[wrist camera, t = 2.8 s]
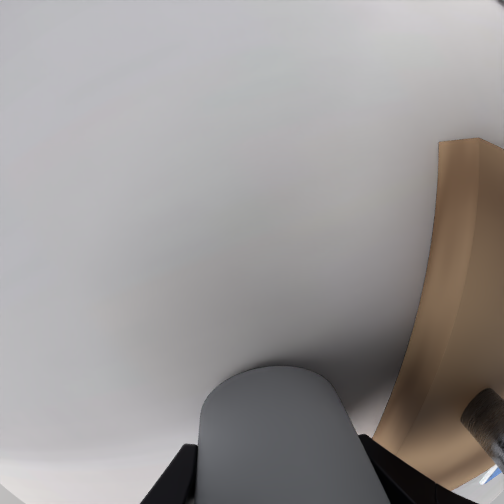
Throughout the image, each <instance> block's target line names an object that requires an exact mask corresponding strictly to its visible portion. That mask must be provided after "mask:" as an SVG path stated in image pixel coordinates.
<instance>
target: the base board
mask: <svg viewBox="0 0 504 504" xmlns="http://www.w3.org/2000/svg"><path fill="white" fill-rule="evenodd" d="M486 388H492V389H493V390H494V391H495V392H496V393H497V394H498V395H499V396H500V397H501V398H503V399H504V149H502V148H500V147H498V146H496V145H494V144H492V143H489V142H487V141H485V140H483V139H481V138H471V139H461V140H452V141H443V142H439V161H438V183H437V197H436V208H435V217H434V226H433V234H432V241H431V247H430V254H429V259H428V265H427V271H426V276H425V281H424V285H423V290H422V295H421V299H420V303H419V307H418V311H417V315H416V319H415V323H414V327H413V330H412V334H411V337H410V341H409V344H408V347H407V351H406V354H405V357H404V360H403V363H402V366H401V369H400V372H399V375H398V377H397V380H396V383H395V386H394V388H393V391H392V394H391V396H390V399H389V401H388V404H387V406H386V409H385V411H384V413H383V416H382V418H381V420H380V423H379V425H378V427H377V429H376V432H375V434H374V436H373V438H372V439H373V440H374V441H376V442H377V443H378V444H380V445H381V446H383V447H384V448H385V449H387V450H388V451H390V452H391V453H392V454H394V455H395V456H397V457H398V458H400V459H401V460H403V461H404V462H406V463H407V464H408V465H410V466H411V467H413V468H414V469H416V470H417V471H419V472H421V473H422V474H424V475H425V476H427V477H428V478H430V479H431V480H433V481H435V483H438V484H439V485H441V486H443V487H444V488H446V489H448V490H450V491H452V490H454V489H455V488H457V487H459V486H461V485H463V484H465V483H466V482H468V481H470V480H472V479H473V478H475V477H477V476H478V475H480V474H482V473H483V472H485V471H487V470H488V469H490V468H491V467H493V466H494V465H496V464H495V463H494V461H493V460H492V459H491V458H490V457H489V455H488V454H487V453H486V452H485V450H484V449H483V448H482V447H481V446H480V444H479V443H478V442H477V441H476V440H475V438H474V437H473V436H472V435H471V434H470V432H469V431H468V430H467V429H466V428H465V427H464V425H463V424H462V423H461V421H460V419H461V416H462V413H463V412H464V410H465V408H466V407H467V406H468V404H469V403H470V402H471V401H472V400H473V398H474V397H475V396H476V395H478V394H479V393H480V392H481V391H483V390H484V389H486Z"/></svg>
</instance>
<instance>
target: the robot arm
mask: <svg viewBox="0 0 504 504" xmlns="http://www.w3.org/2000/svg"><path fill="white" fill-rule="evenodd" d="M358 437H359V439H360V441H361V443H362V445H363V447H364V449H365V451H366V453H367V455H368V457H369V459H370V461H371V464H372V466H373V468H374V470H375V472H376V474H377V476H378V478H379V480H380V482H381V484H382V486H383V488H384V491H385V493H386V495H387V497H388V499H389V501H390V503H391V504H478V503H475V502H473V501H471V500H468V499H466V498H464V497H461V496H459V495H457V494H455V493H453V492H451V491H450V490H448V489H446V488H444V487H443V486H441V485H439V484H438V483H435V481H433V480H431V479H430V478H428V477H427V476H425V475H424V474H422V473H421V472H419V471H417V470H416V469H414V468H413V467H411V466H410V465H408V464H407V463H406V462H404V461H403V460H401V459H400V458H398V457H397V456H395V455H394V454H392V453H391V452H390V451H388V450H387V449H385V448H384V447H383V446H381V445H380V444H378V443H377V442H376V441H374V440H373V439H371V438H370V437H369V436H367V435H366V434H360V435H358ZM197 451H198V446H197V445H195V444H184V445H183V446H182V448H181V449H180V450H179V452H178V453H177V455H176V456H175V457H174V459H173V460H172V462H171V463H170V464H169V466H168V467H167V468H166V470H165V471H164V472H163V474H162V475H161V477H160V478H159V479H158V481H157V482H156V483H155V485H154V486H153V487H152V489H151V490H150V491H149V492H148V494H147V495H146V496H145V498H144V499H143V500H142V502H141V503H140V504H194V493H195V478H196V464H197Z"/></svg>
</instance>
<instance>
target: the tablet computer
mask: <svg viewBox="0 0 504 504" xmlns="http://www.w3.org/2000/svg"><path fill="white" fill-rule="evenodd" d="M501 472H502V471H501V470H500V469H499V468H498V466H497V465H494V466H493V467H491V469H490V470H489V471H488V472H487V474H486V475H485V476H484V477H483V478H482V479H481V481H480V482H479V483H480V484H481V485H482V484H485V483H487V482H488V481H490V480H491V479H493V478H494V477H495V476H497V475H498V474H500V473H501Z"/></svg>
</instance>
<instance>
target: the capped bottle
mask: <svg viewBox="0 0 504 504" xmlns="http://www.w3.org/2000/svg"><path fill="white" fill-rule="evenodd" d="M194 504H391V503H390V501H389V499H388V497H387V495H386V493H385V491H384V488H383V486H382V484H381V482H380V480H379V478H378V476H377V474H376V472H375V470H374V468H373V466H372V464H371V461H370V459H369V457H368V455H367V453H366V451H365V449H364V447H363V445H362V443H361V441H360V439H359V437H358V435H357V433H356V431H355V429H354V427H353V425H352V423H351V421H350V419H349V417H348V415H347V412H346V410H345V408H344V406H343V404H342V402H341V400H340V398H339V396H338V394H337V392H336V390H335V389H334V387H333V386H332V385H331V383H330V382H329V381H328V380H326V379H325V378H324V377H323V376H321V375H319V374H317V373H315V372H313V371H310V370H307V369H303V368H299V367H292V366H269V367H263V368H257V369H253V370H249V371H246V372H243V373H240V374H238V375H236V376H234V377H232V378H229V379H228V380H226V381H225V382H223V383H221V384H220V385H219V386H218V387H216V388H215V389H214V390H213V391H212V392H211V393H210V394H209V396H208V397H207V399H206V400H205V402H204V404H203V406H202V410H201V415H200V426H199V438H198V451H197V464H196V478H195V493H194Z"/></svg>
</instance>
